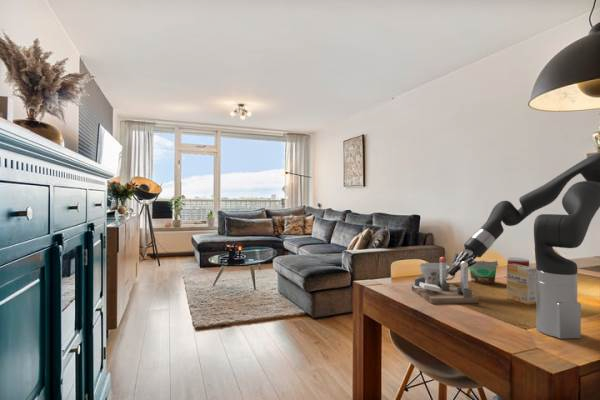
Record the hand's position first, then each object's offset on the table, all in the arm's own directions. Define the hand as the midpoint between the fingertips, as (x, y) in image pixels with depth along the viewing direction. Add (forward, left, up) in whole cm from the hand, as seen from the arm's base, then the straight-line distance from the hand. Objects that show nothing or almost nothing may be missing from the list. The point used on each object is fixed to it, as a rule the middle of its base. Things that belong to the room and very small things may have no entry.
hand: (449, 274), depth 133 cm
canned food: (+13, -37, -8) cm, 40 cm away
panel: (-3, +4, -8) cm, 9 cm away
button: (+4, +10, -5) cm, 12 cm away
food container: (+15, -23, -8) cm, 28 cm away
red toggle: (0, +3, -5) cm, 6 cm away
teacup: (+16, -2, -8) cm, 18 cm away
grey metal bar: (-10, -1, -5) cm, 11 cm away
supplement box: (-11, -21, -8) cm, 25 cm away
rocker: (-4, +10, -4) cm, 12 cm away
